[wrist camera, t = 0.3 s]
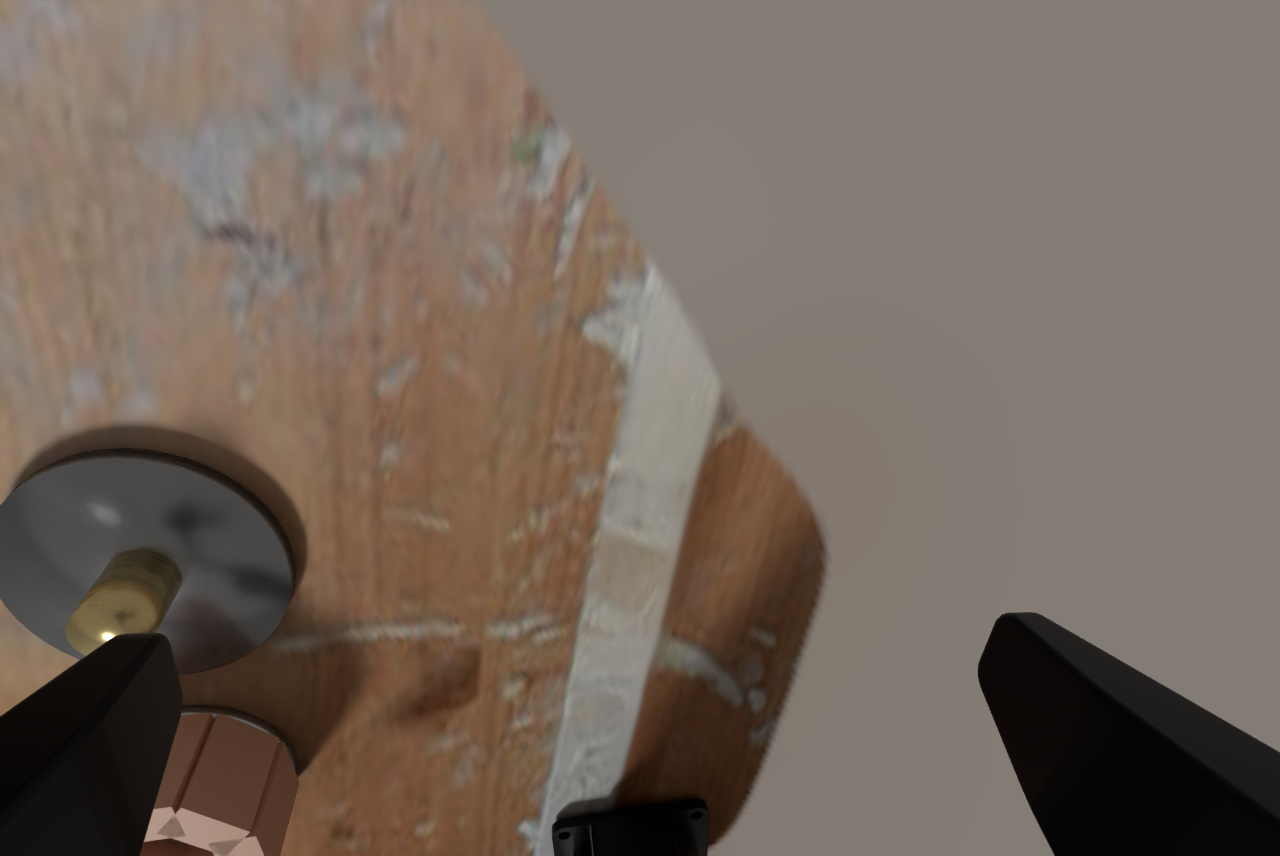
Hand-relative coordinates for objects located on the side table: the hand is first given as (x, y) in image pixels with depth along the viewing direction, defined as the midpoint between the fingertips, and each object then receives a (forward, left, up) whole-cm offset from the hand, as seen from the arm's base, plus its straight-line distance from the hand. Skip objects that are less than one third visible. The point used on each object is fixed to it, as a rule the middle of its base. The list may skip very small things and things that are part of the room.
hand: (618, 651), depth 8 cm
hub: (-8, +13, -14) cm, 21 cm away
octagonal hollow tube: (-17, +14, -14) cm, 26 cm away
